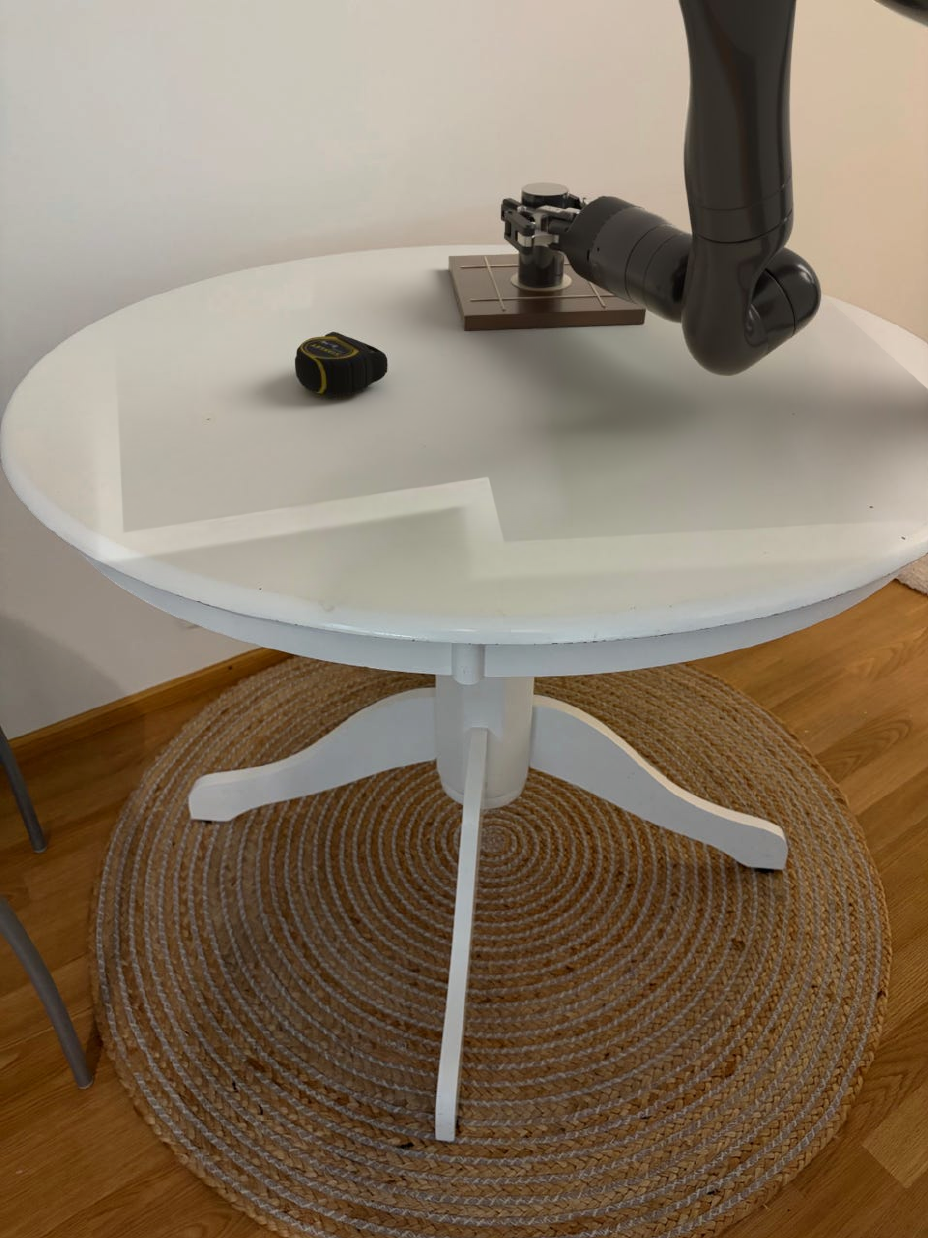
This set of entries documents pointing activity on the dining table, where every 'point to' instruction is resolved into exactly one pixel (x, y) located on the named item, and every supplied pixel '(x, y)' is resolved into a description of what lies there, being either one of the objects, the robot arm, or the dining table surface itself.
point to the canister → (545, 262)
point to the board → (531, 297)
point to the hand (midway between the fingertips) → (531, 204)
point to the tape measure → (338, 364)
